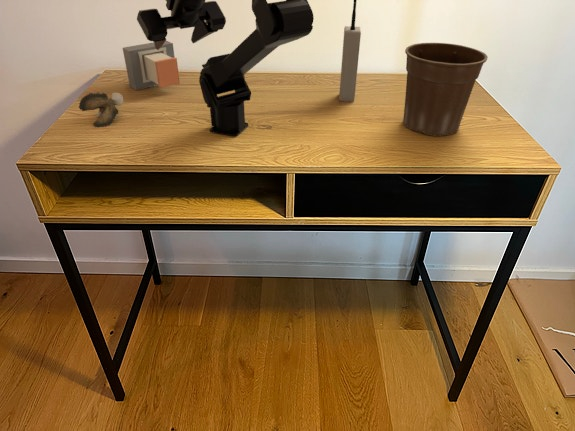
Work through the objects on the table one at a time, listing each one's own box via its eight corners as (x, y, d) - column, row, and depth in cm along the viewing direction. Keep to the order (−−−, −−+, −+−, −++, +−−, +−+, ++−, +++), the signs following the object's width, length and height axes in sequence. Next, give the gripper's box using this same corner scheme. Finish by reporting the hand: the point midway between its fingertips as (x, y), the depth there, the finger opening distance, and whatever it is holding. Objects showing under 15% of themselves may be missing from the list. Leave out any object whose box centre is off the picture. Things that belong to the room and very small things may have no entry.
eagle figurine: (90, 106, 108) (71, 114, 99) (102, 80, 105) (84, 86, 97) (119, 124, 109) (103, 134, 101) (132, 99, 107) (117, 107, 98)
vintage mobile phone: (353, 95, 119) (364, -12, 104) (354, 102, 114) (364, -9, 100) (339, 94, 119) (347, -13, 104) (339, 101, 115) (347, -9, 100)
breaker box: (178, 81, 126) (173, 43, 120) (136, 90, 119) (129, 51, 114) (170, 77, 128) (165, 40, 123) (129, 86, 122) (122, 47, 116)
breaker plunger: (179, 83, 118) (176, 58, 114) (160, 88, 115) (156, 62, 111) (162, 73, 124) (158, 49, 120) (143, 77, 121) (139, 52, 118)
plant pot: (439, 107, 112) (453, 39, 103) (484, 134, 100) (505, 59, 90) (381, 116, 107) (390, 45, 98) (421, 145, 95) (436, 67, 86)
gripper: (212, -41, 99) (194, 10, 112) (130, -34, 89) (121, 21, 102) (236, 2, 98) (215, 49, 111) (155, 13, 88) (143, 63, 101)
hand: (175, 44), depth 106 cm, fingers open, 9 cm apart
